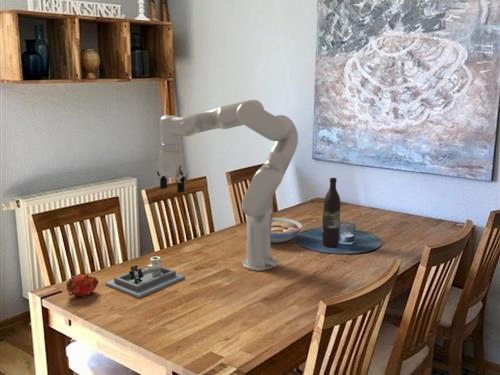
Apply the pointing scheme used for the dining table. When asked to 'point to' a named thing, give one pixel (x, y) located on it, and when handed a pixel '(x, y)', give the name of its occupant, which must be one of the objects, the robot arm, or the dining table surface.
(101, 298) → the dining table surface
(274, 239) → the ramen bowl
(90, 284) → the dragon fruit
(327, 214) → the wine bottle
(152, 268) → the valve
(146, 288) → the rimmed tray
